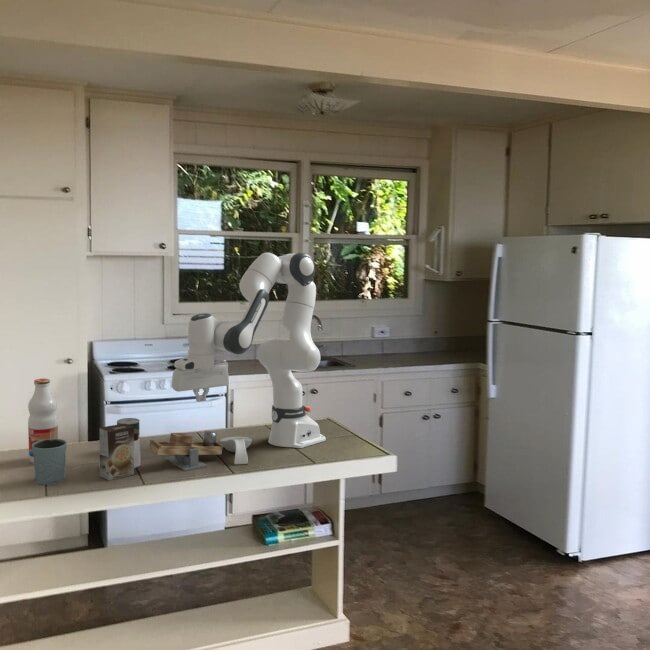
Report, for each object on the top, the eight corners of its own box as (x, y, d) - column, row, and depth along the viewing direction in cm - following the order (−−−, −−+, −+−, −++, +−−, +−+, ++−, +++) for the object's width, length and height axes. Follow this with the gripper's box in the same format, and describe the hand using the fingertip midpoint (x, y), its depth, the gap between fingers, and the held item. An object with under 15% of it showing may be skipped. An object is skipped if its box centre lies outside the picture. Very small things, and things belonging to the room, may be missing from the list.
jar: (125, 460, 244) (125, 426, 243) (144, 464, 241) (144, 429, 240) (107, 468, 236) (107, 433, 235) (127, 471, 233) (127, 436, 231)
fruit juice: (64, 460, 243) (62, 379, 240) (37, 466, 236) (35, 384, 232) (49, 454, 249) (47, 375, 246) (23, 460, 242) (21, 379, 238)
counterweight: (211, 444, 251) (213, 430, 251) (217, 447, 247) (219, 433, 247) (200, 444, 248) (202, 430, 248) (206, 447, 245) (208, 433, 245)
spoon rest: (218, 445, 265) (218, 427, 264) (249, 444, 268) (249, 425, 267) (225, 466, 242) (225, 445, 241) (259, 464, 245) (259, 444, 244)
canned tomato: (137, 453, 252) (137, 423, 250) (114, 453, 251) (114, 423, 250) (141, 447, 260) (141, 417, 258) (119, 447, 259) (119, 417, 258)
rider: (185, 444, 245) (186, 433, 245) (191, 447, 241) (192, 436, 241) (169, 444, 241) (170, 432, 241) (175, 447, 237) (176, 436, 237)
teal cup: (64, 473, 230) (64, 437, 229) (69, 482, 222) (68, 445, 220) (31, 477, 226) (30, 440, 224) (34, 487, 217) (33, 449, 215)
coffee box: (109, 481, 224) (108, 431, 222) (99, 476, 228) (98, 427, 226) (135, 474, 231) (134, 426, 229) (124, 469, 235) (124, 422, 233)
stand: (187, 455, 251) (187, 438, 250) (206, 466, 240) (206, 448, 239) (166, 459, 246) (166, 441, 245) (184, 470, 235) (184, 452, 234)
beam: (210, 448, 254) (211, 439, 253) (222, 455, 246) (224, 446, 246) (147, 448, 239) (149, 439, 239) (159, 455, 232) (160, 446, 231)
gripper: (223, 357, 251) (223, 395, 253) (169, 362, 238) (169, 402, 240) (232, 360, 246) (232, 399, 248) (178, 365, 233) (178, 406, 235)
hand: (201, 401), depth 244 cm, fingers closed
